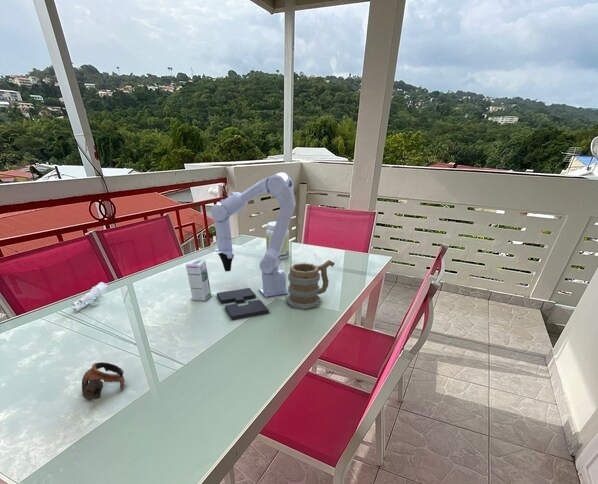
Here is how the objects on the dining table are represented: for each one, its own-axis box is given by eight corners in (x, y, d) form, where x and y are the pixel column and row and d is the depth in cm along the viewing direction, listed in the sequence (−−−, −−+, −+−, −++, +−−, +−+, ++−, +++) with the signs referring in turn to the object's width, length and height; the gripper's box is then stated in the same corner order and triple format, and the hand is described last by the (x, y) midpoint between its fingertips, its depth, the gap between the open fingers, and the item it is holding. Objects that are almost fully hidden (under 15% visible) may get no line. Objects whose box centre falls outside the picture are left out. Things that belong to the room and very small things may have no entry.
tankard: (296, 311, 125) (297, 272, 116) (282, 299, 134) (281, 262, 125) (340, 301, 132) (344, 264, 124) (324, 290, 142) (326, 255, 133)
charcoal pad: (259, 302, 131) (259, 299, 130) (268, 313, 123) (268, 309, 122) (225, 308, 126) (224, 305, 125) (232, 320, 118) (231, 316, 118)
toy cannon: (81, 316, 123) (67, 306, 121) (103, 301, 134) (91, 292, 132) (89, 303, 119) (76, 293, 117) (112, 288, 130) (100, 279, 129)
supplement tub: (266, 253, 184) (265, 221, 174) (288, 252, 185) (288, 220, 176) (267, 260, 174) (265, 226, 164) (290, 259, 175) (290, 226, 166)
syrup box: (205, 301, 131) (199, 265, 123) (191, 299, 132) (185, 263, 124) (211, 295, 136) (206, 260, 127) (198, 294, 137) (192, 259, 128)
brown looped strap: (86, 384, 88) (94, 356, 86) (123, 394, 91) (132, 368, 89) (66, 404, 77) (75, 373, 75) (109, 415, 80) (119, 385, 78)
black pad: (249, 291, 140) (249, 287, 139) (257, 300, 133) (257, 296, 132) (217, 296, 135) (216, 292, 134) (223, 306, 128) (222, 302, 127)
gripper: (209, 233, 134) (214, 266, 142) (218, 242, 123) (222, 277, 131) (226, 232, 136) (230, 264, 144) (236, 240, 126) (239, 275, 133)
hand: (227, 270), depth 138 cm, fingers closed
